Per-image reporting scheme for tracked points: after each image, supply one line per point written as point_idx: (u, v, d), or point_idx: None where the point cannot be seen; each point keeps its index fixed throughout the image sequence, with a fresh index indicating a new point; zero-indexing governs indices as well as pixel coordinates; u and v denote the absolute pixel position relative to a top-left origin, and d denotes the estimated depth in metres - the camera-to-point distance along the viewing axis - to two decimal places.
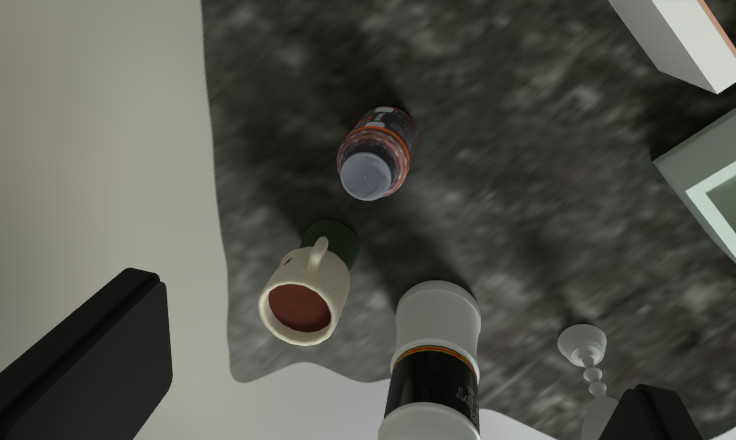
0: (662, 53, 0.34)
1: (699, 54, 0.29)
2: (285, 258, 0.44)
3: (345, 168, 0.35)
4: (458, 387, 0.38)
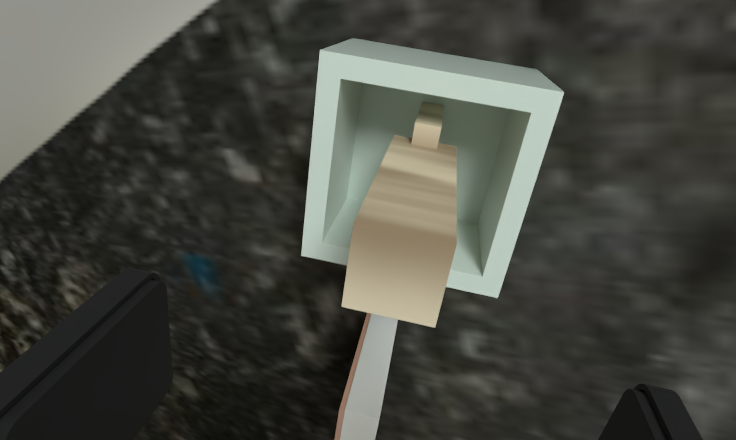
0: None
1: None
2: None
3: None
4: None
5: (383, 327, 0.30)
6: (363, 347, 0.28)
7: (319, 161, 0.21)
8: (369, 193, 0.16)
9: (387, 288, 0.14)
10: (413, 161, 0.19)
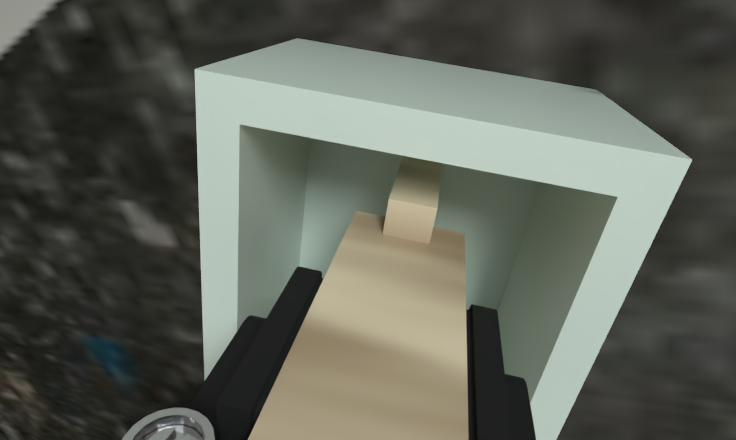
0: None
1: None
2: None
3: None
4: None
5: None
6: None
7: (218, 266, 0.12)
8: None
9: None
10: (378, 292, 0.10)
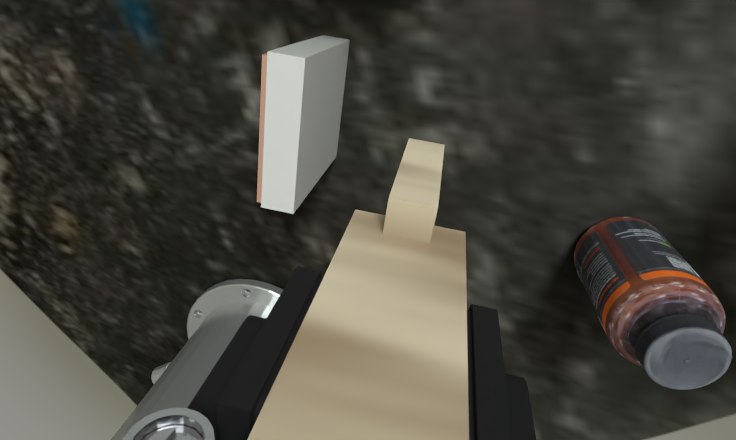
0: (329, 90, 0.27)
1: (292, 119, 0.23)
2: None
3: (687, 386, 0.24)
4: None
5: (326, 41, 0.28)
6: (300, 42, 0.26)
7: None
8: None
9: None
10: (378, 291, 0.10)
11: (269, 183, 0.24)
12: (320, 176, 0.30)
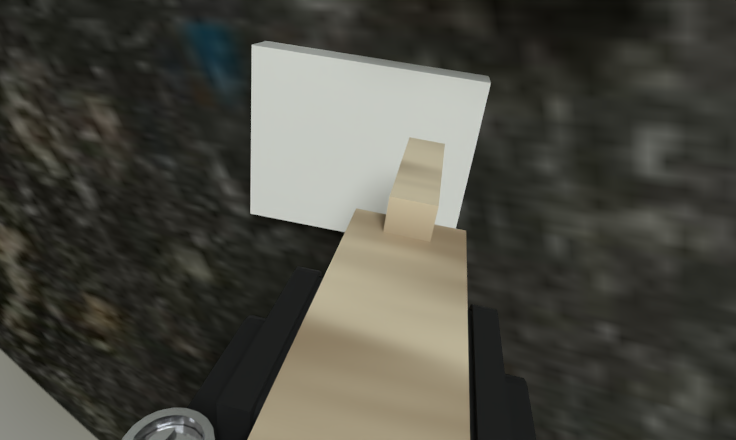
0: (375, 125, 0.20)
1: None
2: None
3: None
4: None
5: (420, 68, 0.20)
6: None
7: None
8: None
9: None
10: (379, 290, 0.10)
11: None
12: None
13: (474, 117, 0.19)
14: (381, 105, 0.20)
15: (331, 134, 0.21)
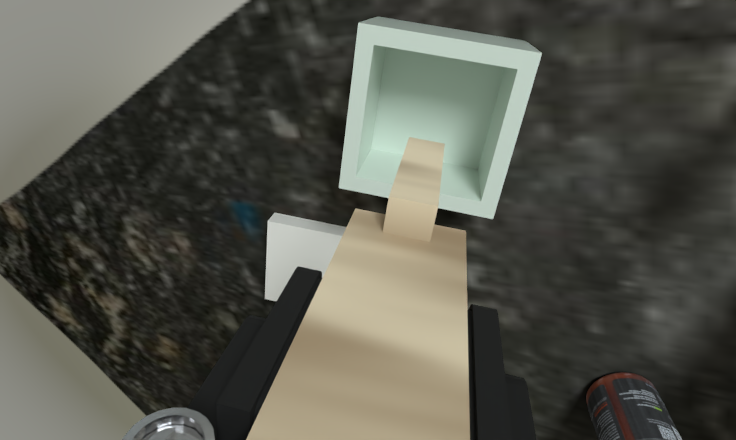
0: (330, 260, 0.39)
1: None
2: None
3: None
4: None
5: None
6: None
7: (355, 110, 0.28)
8: None
9: None
10: (378, 290, 0.10)
11: None
12: None
13: None
14: (333, 251, 0.39)
15: (308, 263, 0.40)
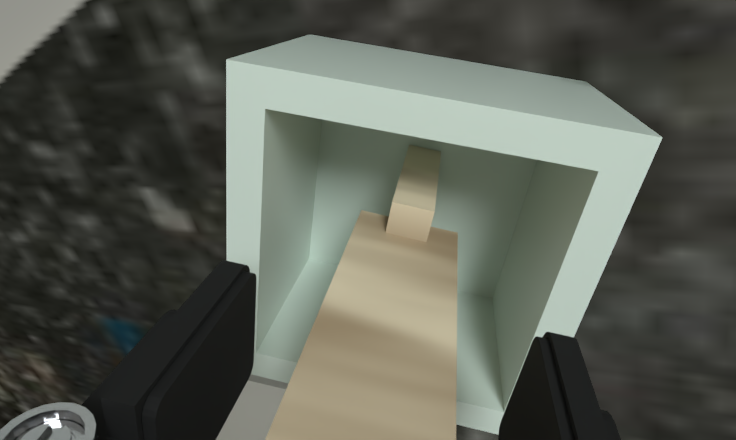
0: (256, 416, 0.25)
1: None
2: None
3: None
4: None
5: None
6: None
7: (242, 239, 0.13)
8: (279, 415, 0.08)
9: None
10: (383, 284, 0.11)
11: None
12: None
13: None
14: (259, 405, 0.24)
15: None
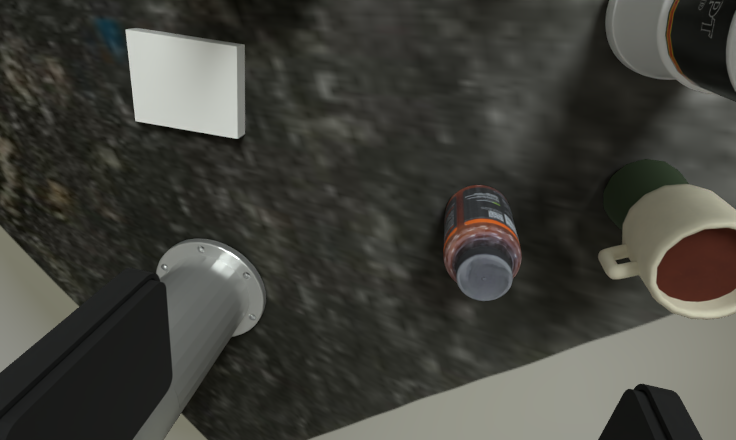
0: (189, 69, 0.41)
1: None
2: None
3: (487, 298, 0.34)
4: (702, 31, 0.22)
5: (208, 40, 0.40)
6: None
7: None
8: None
9: None
10: None
11: None
12: (191, 129, 0.43)
13: (233, 64, 0.40)
14: (190, 58, 0.40)
15: (169, 74, 0.41)
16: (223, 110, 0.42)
